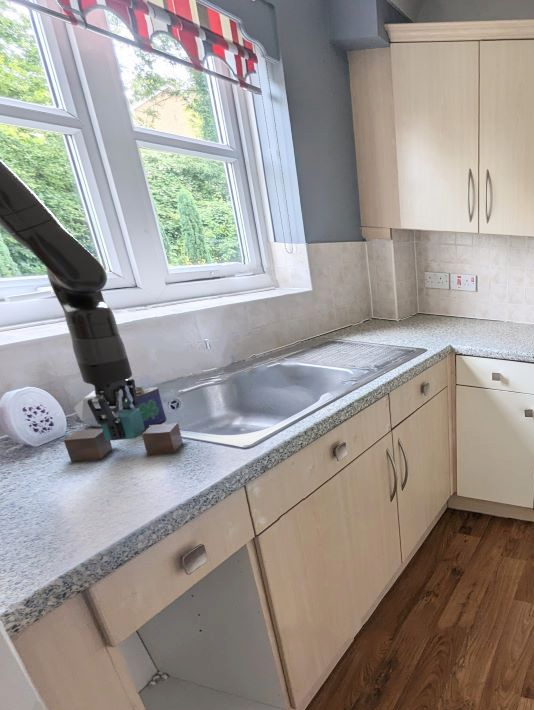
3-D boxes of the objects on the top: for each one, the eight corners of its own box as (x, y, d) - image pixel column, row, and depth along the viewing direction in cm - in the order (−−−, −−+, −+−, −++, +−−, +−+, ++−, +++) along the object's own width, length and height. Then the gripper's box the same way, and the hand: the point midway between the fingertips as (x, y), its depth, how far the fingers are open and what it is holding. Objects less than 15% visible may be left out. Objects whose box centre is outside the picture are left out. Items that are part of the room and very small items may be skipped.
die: (84, 438, 105) (108, 403, 105) (57, 415, 106) (80, 380, 105) (120, 435, 113) (143, 403, 113) (95, 414, 114) (117, 382, 114)
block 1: (71, 461, 94) (63, 440, 92) (84, 451, 98) (77, 430, 96) (101, 459, 95) (94, 437, 93) (112, 448, 100) (106, 428, 98)
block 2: (147, 455, 98) (141, 434, 96) (156, 445, 102) (151, 424, 100) (174, 452, 99) (169, 431, 98) (182, 442, 104) (178, 422, 102)
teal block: (105, 441, 94) (98, 419, 93) (117, 431, 99) (110, 410, 97) (135, 438, 96) (128, 416, 94) (145, 429, 100) (139, 408, 98)
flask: (160, 419, 115) (150, 379, 111) (171, 420, 115) (161, 380, 111) (125, 434, 106) (112, 391, 103) (136, 435, 106) (123, 392, 102)
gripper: (97, 349, 96) (119, 422, 102) (57, 368, 84) (85, 450, 90) (140, 347, 99) (159, 419, 105) (107, 366, 86) (131, 446, 92)
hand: (125, 433), depth 97 cm, fingers closed on teal block, 5 cm apart
